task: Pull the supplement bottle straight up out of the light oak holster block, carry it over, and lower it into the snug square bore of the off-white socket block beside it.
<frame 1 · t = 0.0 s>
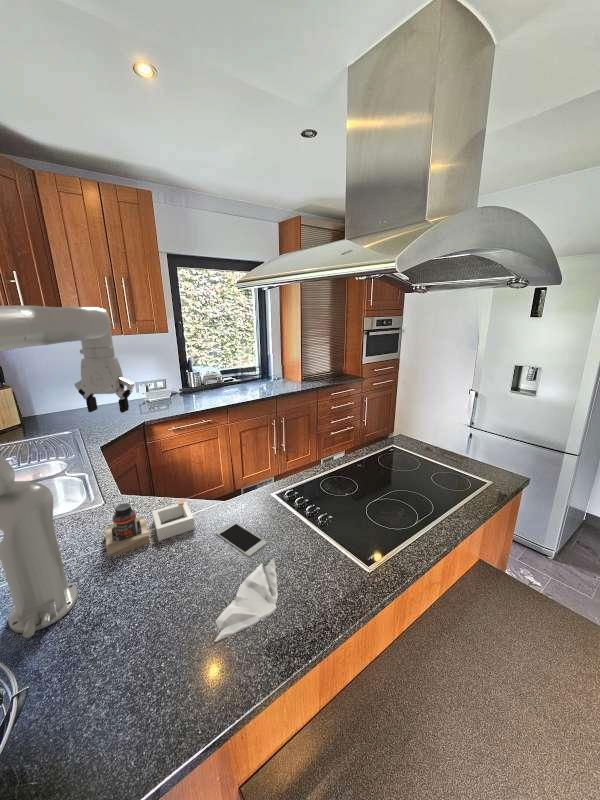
hand: (108, 411, 96), 37 cm above the countertop, tool pointing down, fingers open, 9 cm apart
supplement bottle: (128, 540, 97), resting in holster block
smartphone: (240, 540, 97), on the countertop
cloth: (252, 599, 77), on the countertop
socket block: (173, 525, 103), on the countertop
holster block: (128, 539, 97), on the countertop
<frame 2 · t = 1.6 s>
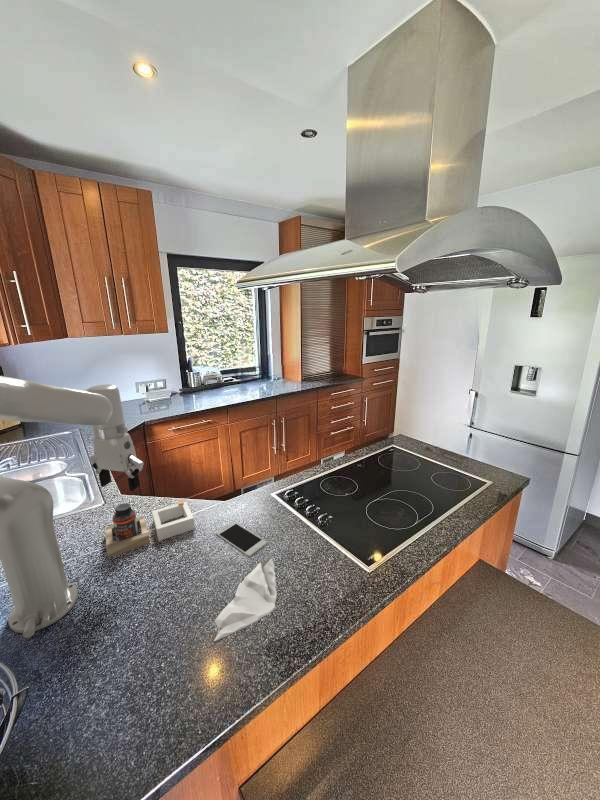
hand: (120, 486, 93), 18 cm above the countertop, tool pointing down, fingers open, 9 cm apart
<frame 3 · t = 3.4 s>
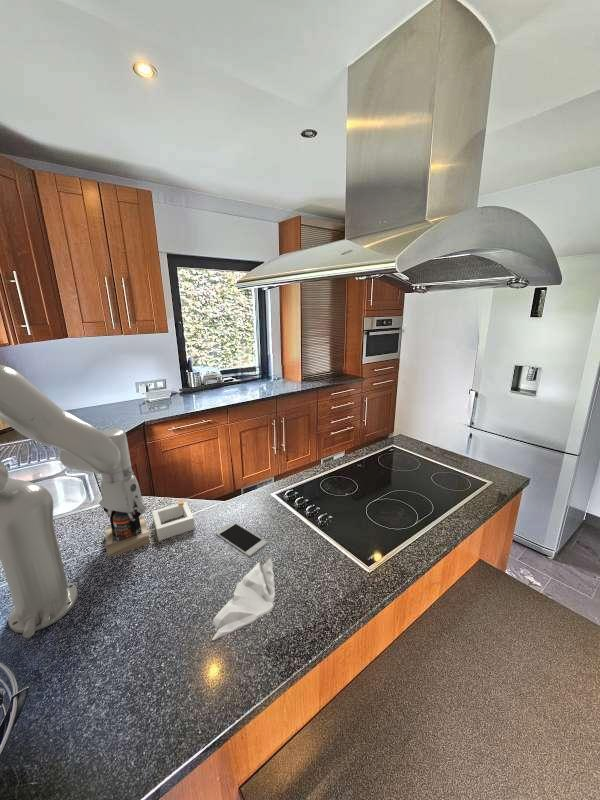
hand: (126, 527, 96), 4 cm above the countertop, tool pointing down, fingers closed on supplement bottle, 6 cm apart
supplement bottle: (128, 540, 97), resting in holster block, touching gripper
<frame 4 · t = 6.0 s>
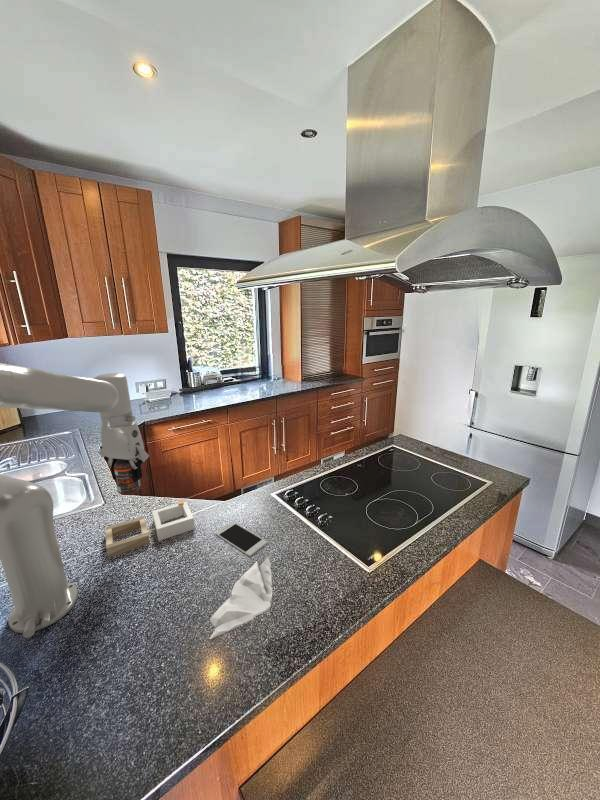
hand: (127, 477, 93), 20 cm above the countertop, tool pointing down, fingers closed on supplement bottle, 6 cm apart
supplement bottle: (130, 491, 94), point 15 cm above the countertop, touching gripper
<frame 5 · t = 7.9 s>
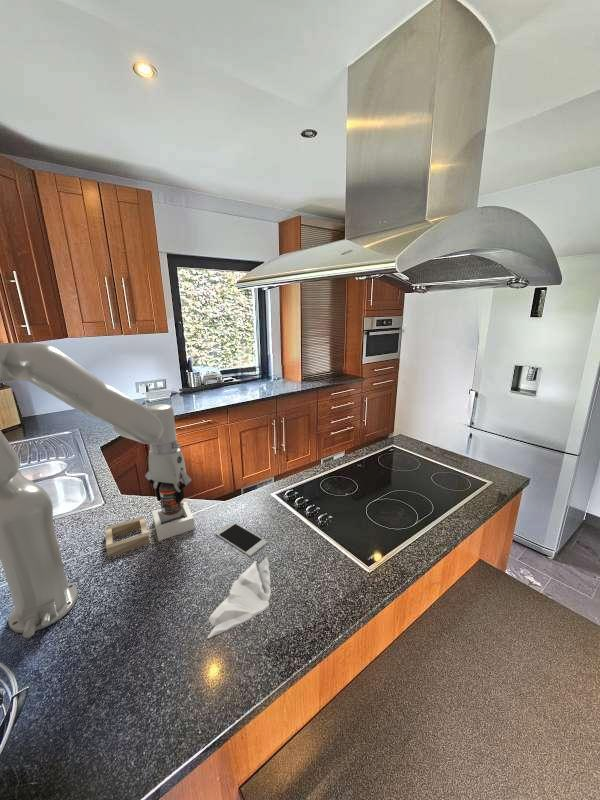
hand: (170, 499, 101), 9 cm above the countertop, tool pointing down, fingers closed on supplement bottle, 6 cm apart
supplement bottle: (172, 511, 102), point 5 cm above the countertop, touching gripper
when the fingers open (6 cm above the countertop, at t = 9.0 s): supplement bottle drops 2 cm, resting in socket block.
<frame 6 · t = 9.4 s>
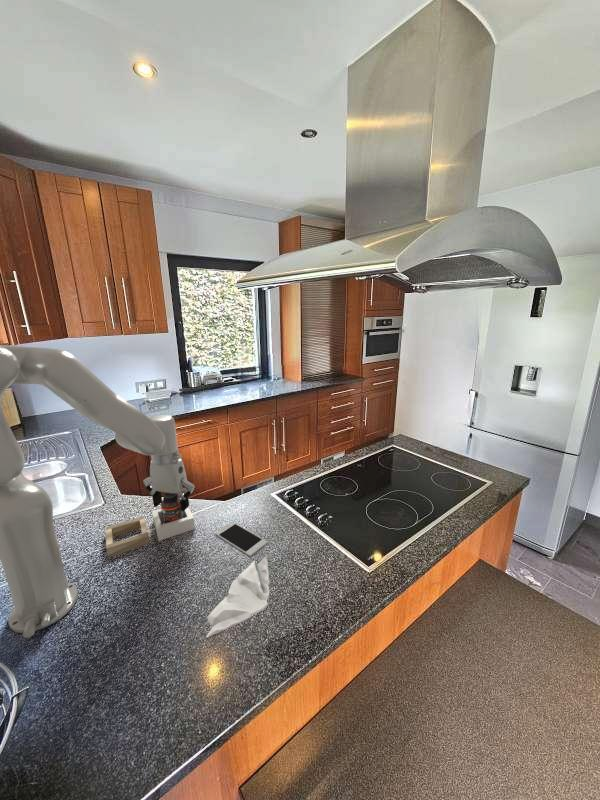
hand: (171, 506, 101), 7 cm above the countertop, tool pointing down, fingers open, 9 cm apart
supplement bottle: (173, 526, 103), resting in socket block
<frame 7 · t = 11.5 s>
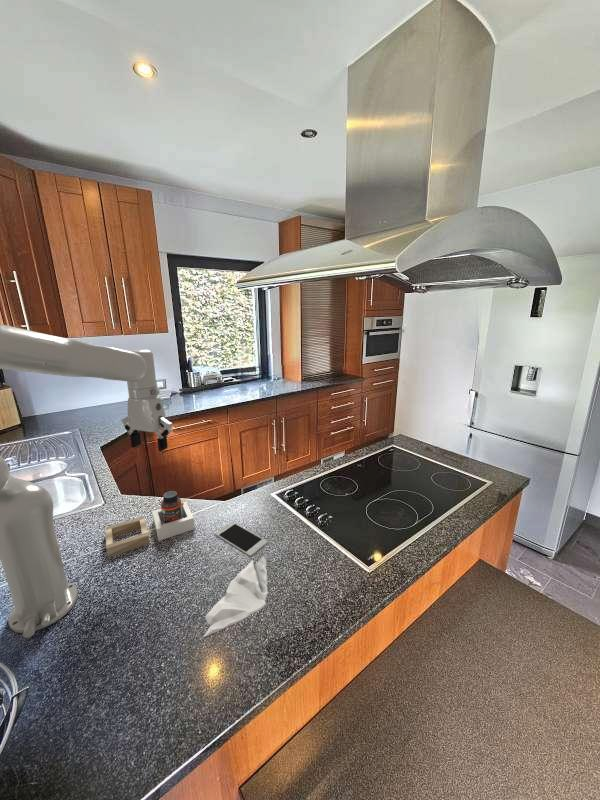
hand: (149, 447, 98), 26 cm above the countertop, tool pointing down, fingers open, 9 cm apart
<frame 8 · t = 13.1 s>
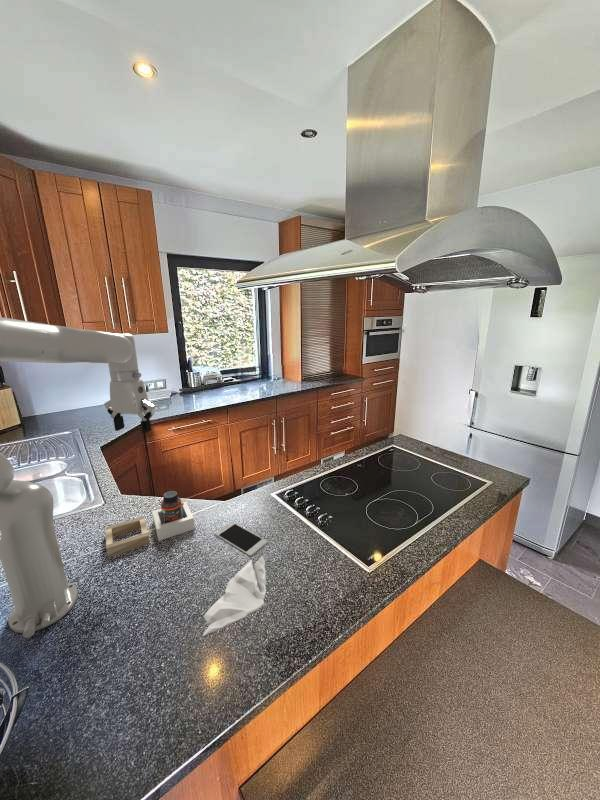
hand: (133, 430, 100), 30 cm above the countertop, tool pointing down, fingers open, 9 cm apart
at the end: supplement bottle 0.2 cm off-centre on the socket block, point 0.0 cm above the socket block's base; supplement bottle tilted 0°; the gripper is holding nothing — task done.
